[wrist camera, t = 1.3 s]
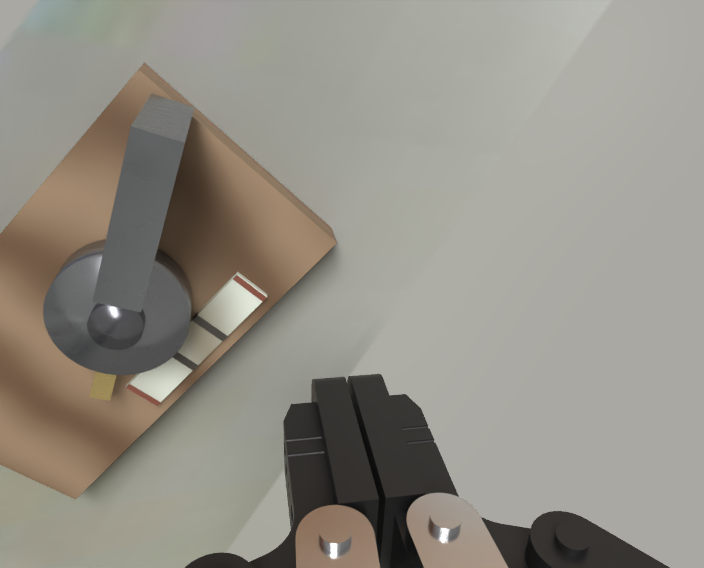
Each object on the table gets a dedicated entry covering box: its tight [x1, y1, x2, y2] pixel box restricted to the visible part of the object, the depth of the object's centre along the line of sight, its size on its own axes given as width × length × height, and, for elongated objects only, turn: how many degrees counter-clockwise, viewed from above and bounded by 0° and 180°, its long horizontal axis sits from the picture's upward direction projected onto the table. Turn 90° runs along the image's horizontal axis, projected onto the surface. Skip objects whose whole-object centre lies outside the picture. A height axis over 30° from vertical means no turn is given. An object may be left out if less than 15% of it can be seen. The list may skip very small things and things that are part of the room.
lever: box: [43, 93, 194, 401], centre depth 26 cm, size 6×16×6 cm, turn 159°
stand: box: [0, 63, 337, 499], centre depth 31 cm, size 22×12×2 cm, turn 134°
